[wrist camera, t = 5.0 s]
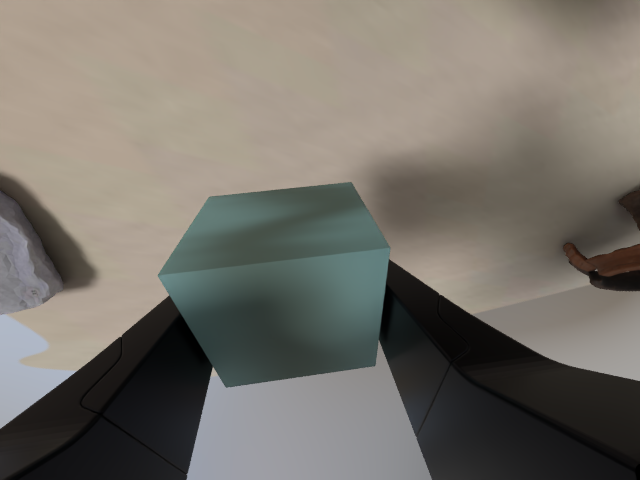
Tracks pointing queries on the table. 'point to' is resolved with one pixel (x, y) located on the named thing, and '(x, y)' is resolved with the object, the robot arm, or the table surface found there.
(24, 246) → the stone block
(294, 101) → the table surface
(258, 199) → the teal block
